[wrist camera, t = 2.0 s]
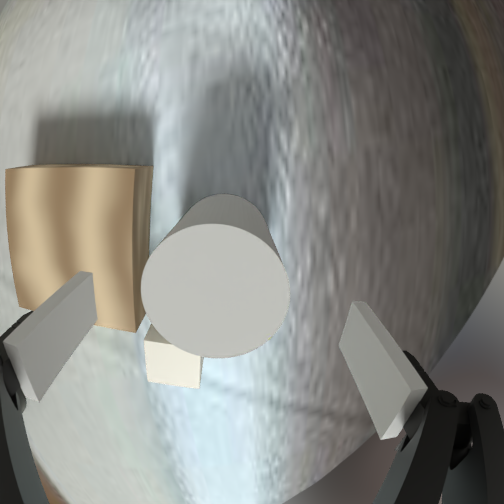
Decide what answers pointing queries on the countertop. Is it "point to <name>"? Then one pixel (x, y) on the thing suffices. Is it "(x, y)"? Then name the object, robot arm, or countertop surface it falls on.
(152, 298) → the grey cylinder
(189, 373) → the cream block
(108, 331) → the countertop surface
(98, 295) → the oak block
